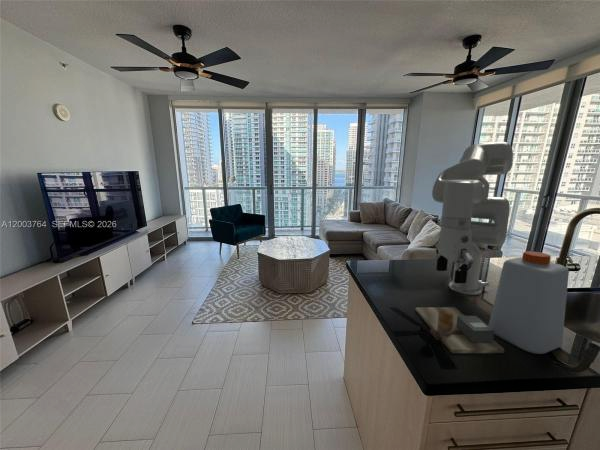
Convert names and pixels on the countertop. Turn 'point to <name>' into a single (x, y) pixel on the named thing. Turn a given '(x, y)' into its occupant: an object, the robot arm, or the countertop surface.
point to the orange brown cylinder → (445, 322)
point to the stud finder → (475, 329)
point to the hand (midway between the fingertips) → (450, 276)
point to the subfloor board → (455, 333)
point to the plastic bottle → (531, 303)
